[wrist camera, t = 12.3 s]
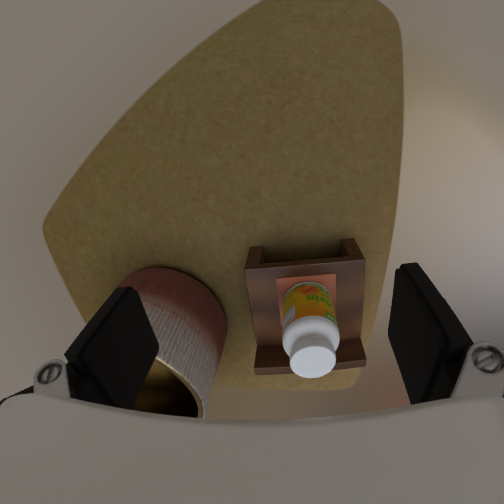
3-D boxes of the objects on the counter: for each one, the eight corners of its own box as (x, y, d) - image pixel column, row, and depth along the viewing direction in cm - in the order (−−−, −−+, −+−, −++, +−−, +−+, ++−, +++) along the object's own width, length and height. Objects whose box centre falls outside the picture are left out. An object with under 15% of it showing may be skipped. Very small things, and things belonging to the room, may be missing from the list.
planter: (231, 272, 39) (203, 356, 25) (226, 366, 47) (207, 446, 32) (112, 255, 40) (48, 317, 26) (127, 346, 47) (89, 413, 33)
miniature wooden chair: (249, 247, 37) (238, 289, 28) (353, 238, 35) (375, 277, 26) (261, 324, 42) (255, 375, 33) (352, 316, 40) (365, 366, 31)
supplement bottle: (340, 292, 32) (356, 352, 23) (315, 326, 34) (321, 389, 25) (298, 272, 31) (302, 330, 22) (274, 309, 33) (270, 371, 25)
